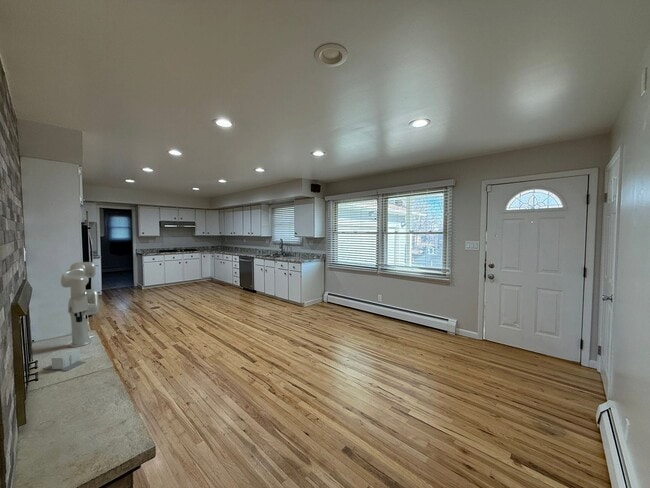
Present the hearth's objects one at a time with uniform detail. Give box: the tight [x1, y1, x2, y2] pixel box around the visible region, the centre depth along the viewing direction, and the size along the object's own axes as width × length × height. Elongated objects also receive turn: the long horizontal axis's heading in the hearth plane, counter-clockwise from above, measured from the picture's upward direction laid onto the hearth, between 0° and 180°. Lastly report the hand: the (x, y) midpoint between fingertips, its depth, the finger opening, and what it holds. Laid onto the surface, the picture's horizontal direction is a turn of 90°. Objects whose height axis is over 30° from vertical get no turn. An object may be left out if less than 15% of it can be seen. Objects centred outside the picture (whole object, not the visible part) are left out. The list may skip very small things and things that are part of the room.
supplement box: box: [51, 349, 81, 369], centre depth 180 cm, size 7×7×13 cm
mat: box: [42, 360, 87, 372], centre depth 180 cm, size 12×18×1 cm, turn 80°
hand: (79, 321), depth 190 cm, fingers closed
